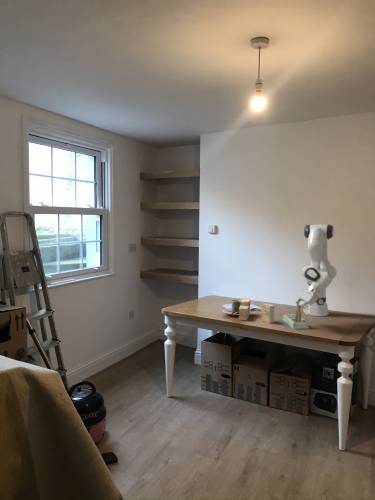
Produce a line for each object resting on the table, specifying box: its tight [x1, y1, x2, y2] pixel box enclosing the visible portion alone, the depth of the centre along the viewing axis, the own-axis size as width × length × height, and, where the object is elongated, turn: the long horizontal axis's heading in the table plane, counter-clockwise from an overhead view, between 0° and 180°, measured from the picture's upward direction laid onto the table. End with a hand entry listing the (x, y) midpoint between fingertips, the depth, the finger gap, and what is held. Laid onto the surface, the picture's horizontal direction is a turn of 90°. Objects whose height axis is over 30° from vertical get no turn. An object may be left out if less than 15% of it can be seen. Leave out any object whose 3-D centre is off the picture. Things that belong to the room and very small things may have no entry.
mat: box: [276, 319, 315, 330], centre depth 271 cm, size 22×20×1 cm
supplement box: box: [261, 303, 275, 324], centre depth 276 cm, size 8×5×13 cm, turn 31°
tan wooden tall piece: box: [294, 303, 302, 323], centre depth 265 cm, size 7×5×14 cm
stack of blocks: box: [238, 298, 251, 321], centre depth 290 cm, size 21×6×12 cm, turn 165°
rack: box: [282, 313, 310, 330], centre depth 271 cm, size 24×10×4 cm, turn 4°
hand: (298, 305), depth 264 cm, fingers open, 8 cm apart
